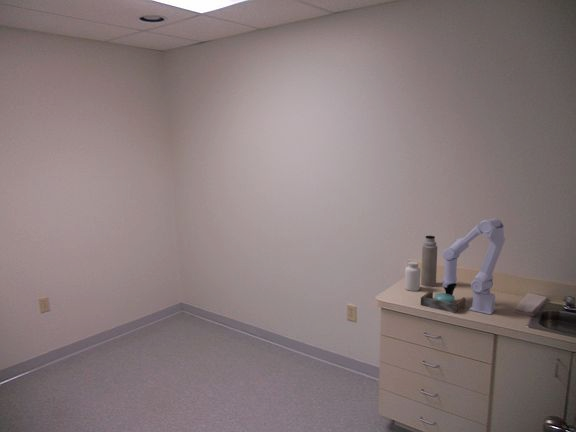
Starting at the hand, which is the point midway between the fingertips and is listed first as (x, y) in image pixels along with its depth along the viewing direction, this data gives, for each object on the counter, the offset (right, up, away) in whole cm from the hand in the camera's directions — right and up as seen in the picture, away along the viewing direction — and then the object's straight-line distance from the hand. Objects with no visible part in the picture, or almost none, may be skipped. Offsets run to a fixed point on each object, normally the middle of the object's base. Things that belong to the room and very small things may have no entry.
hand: (449, 297), depth 213 cm
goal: (-5, -3, -6) cm, 9 cm away
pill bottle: (-13, +1, +19) cm, 23 cm away
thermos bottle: (-2, +2, +26) cm, 26 cm away
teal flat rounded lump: (-4, -2, -4) cm, 6 cm away
